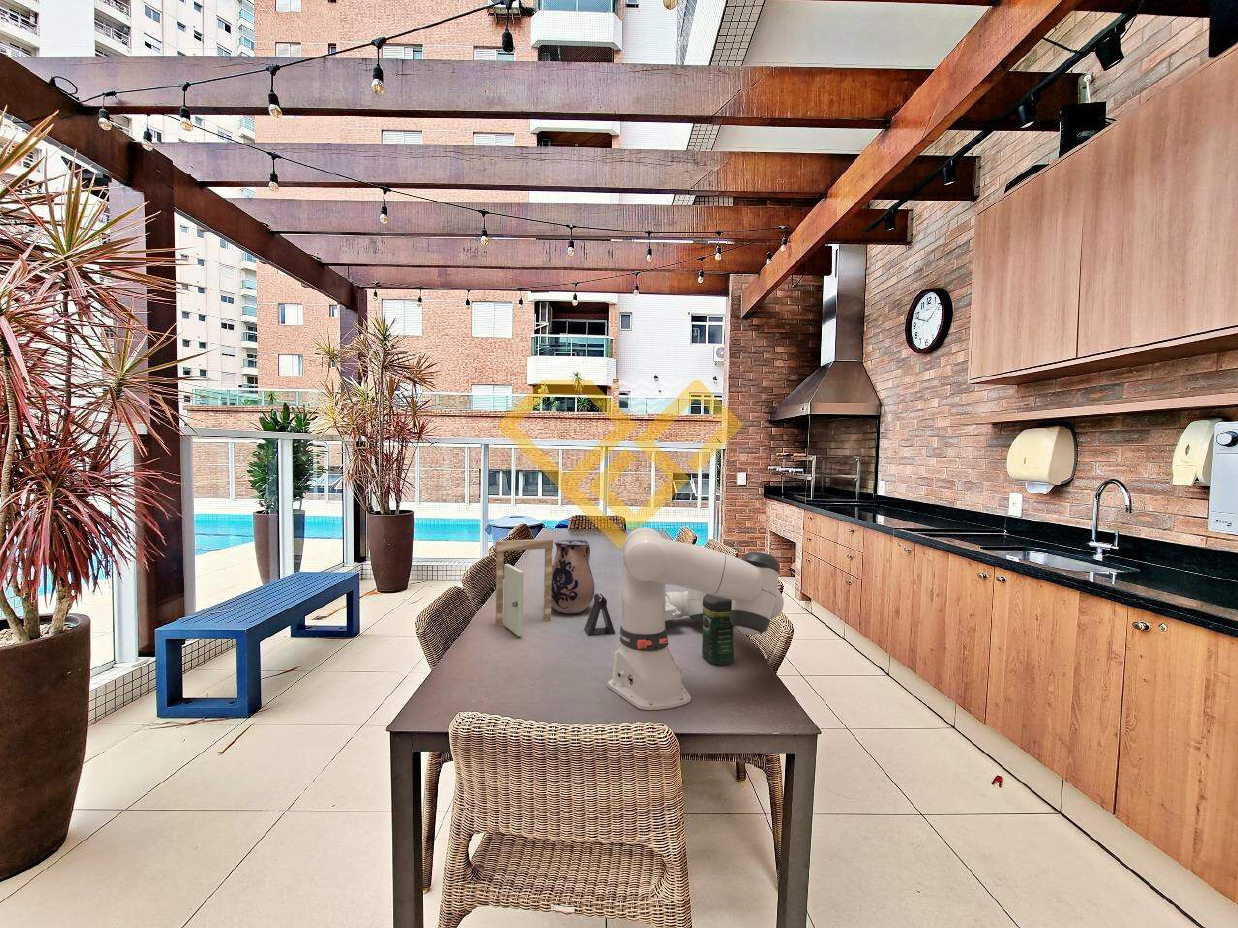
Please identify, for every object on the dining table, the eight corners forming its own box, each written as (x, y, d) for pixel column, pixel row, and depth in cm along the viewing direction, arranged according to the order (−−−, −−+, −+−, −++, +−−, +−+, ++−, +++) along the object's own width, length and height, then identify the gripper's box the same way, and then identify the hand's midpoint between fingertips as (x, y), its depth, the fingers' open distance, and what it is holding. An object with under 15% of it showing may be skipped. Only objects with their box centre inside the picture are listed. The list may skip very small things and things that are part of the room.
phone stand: (610, 628, 186) (611, 592, 185) (615, 634, 180) (616, 597, 179) (584, 629, 183) (585, 593, 183) (587, 636, 178) (588, 598, 177)
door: (514, 637, 173) (515, 572, 172) (499, 624, 184) (500, 564, 183) (522, 635, 174) (523, 571, 173) (507, 623, 185) (508, 563, 185)
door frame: (551, 620, 192) (553, 539, 191) (495, 626, 185) (497, 542, 184) (549, 618, 194) (551, 538, 193) (494, 624, 187) (495, 540, 186)
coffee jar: (738, 664, 156) (738, 598, 156) (711, 667, 154) (712, 600, 154) (723, 651, 166) (723, 589, 165) (698, 654, 164) (698, 591, 163)
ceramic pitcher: (538, 614, 199) (539, 544, 198) (561, 599, 219) (562, 535, 218) (584, 620, 194) (585, 548, 193) (603, 604, 214) (605, 538, 213)
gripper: (684, 623, 181) (645, 627, 176) (656, 606, 200) (621, 609, 195) (684, 604, 181) (646, 608, 176) (657, 588, 200) (621, 591, 195)
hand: (632, 608), depth 186 cm, fingers open, 8 cm apart
